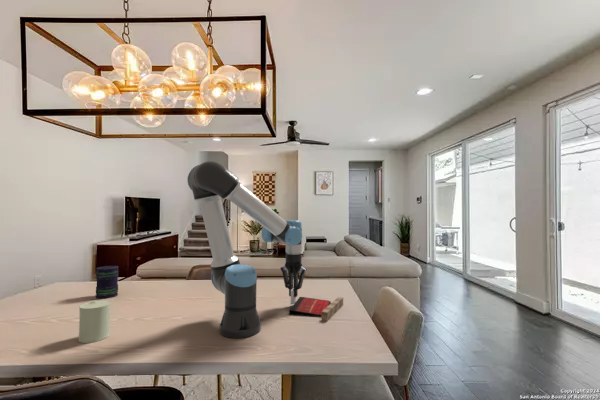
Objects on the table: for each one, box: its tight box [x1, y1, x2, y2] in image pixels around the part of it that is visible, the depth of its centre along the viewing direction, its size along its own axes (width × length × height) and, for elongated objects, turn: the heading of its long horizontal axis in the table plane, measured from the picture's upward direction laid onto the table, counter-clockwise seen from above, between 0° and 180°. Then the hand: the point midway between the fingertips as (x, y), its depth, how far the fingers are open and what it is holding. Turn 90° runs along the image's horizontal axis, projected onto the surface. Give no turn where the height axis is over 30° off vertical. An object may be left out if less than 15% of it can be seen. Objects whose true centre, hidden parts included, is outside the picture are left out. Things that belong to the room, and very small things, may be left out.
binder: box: [288, 296, 332, 318], centre depth 138 cm, size 16×2×21 cm
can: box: [78, 300, 111, 344], centre depth 106 cm, size 9×9×12 cm
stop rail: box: [321, 296, 344, 322], centre depth 133 cm, size 23×2×4 cm, turn 155°
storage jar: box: [95, 265, 120, 300], centre depth 156 cm, size 10×10×15 cm
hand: (293, 303), depth 141 cm, fingers closed
